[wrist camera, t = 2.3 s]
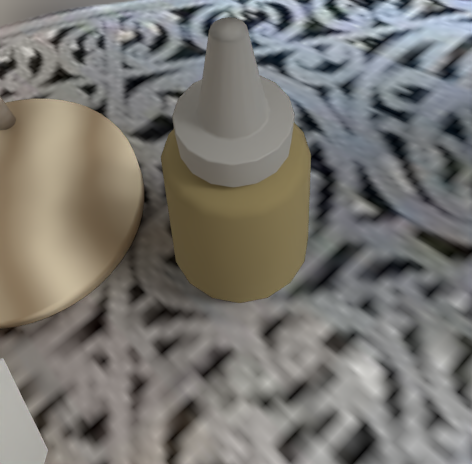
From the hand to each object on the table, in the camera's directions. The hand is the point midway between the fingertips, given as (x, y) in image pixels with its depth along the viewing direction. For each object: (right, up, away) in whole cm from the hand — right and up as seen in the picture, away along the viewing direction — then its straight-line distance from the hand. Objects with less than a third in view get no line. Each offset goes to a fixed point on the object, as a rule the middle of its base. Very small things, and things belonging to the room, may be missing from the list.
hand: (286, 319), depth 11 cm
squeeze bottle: (-1, 0, +19) cm, 19 cm away
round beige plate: (-17, +4, +21) cm, 27 cm away
